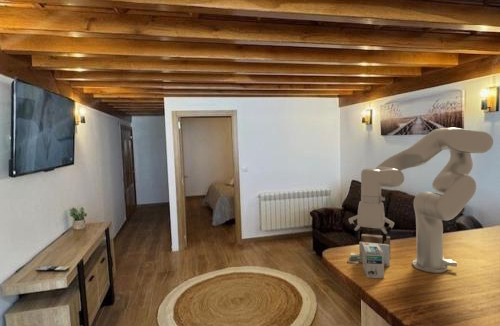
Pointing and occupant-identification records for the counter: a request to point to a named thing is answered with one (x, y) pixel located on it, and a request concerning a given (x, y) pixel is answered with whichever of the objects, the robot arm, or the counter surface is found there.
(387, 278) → the counter surface
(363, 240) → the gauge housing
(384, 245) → the plate
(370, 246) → the light bulb box
